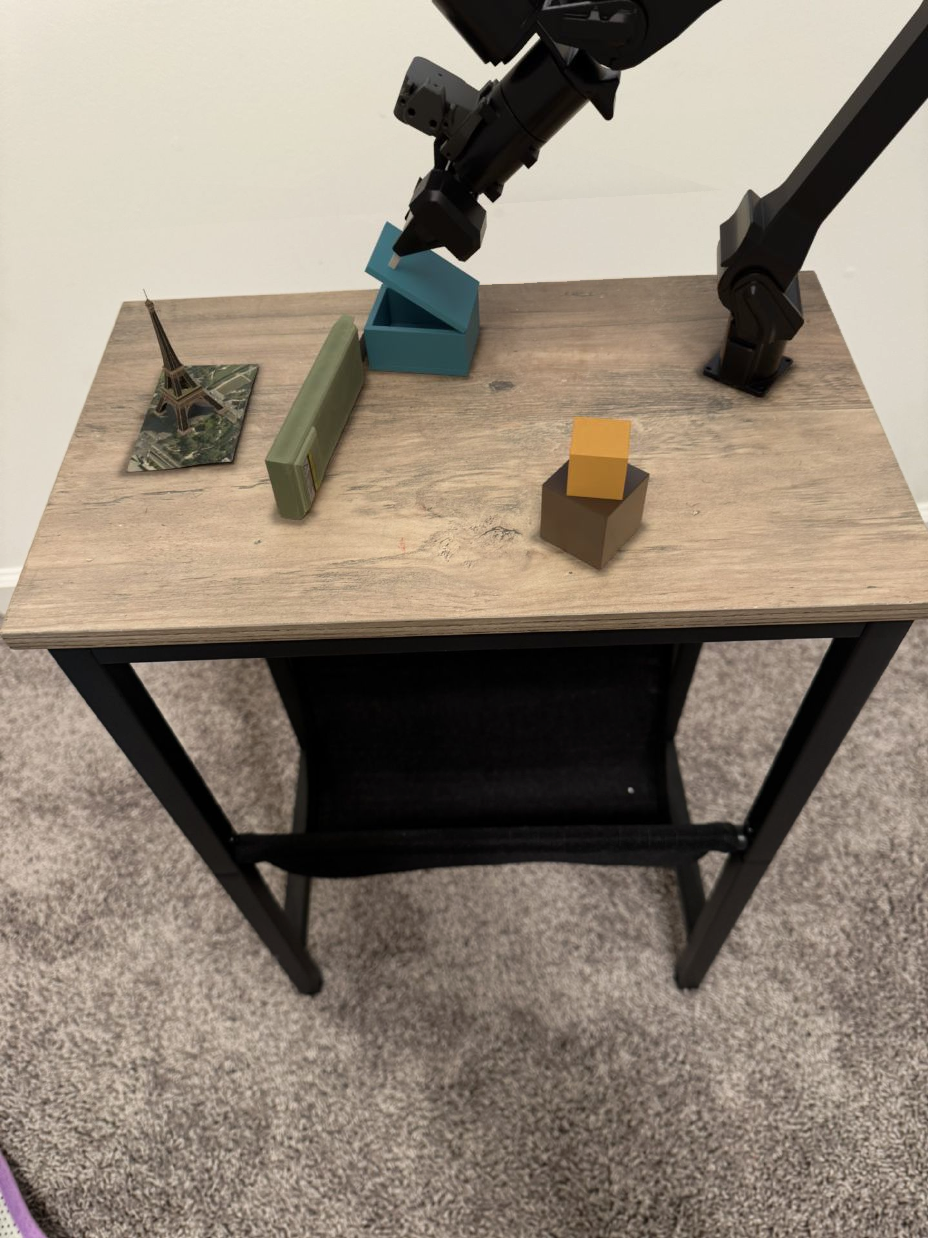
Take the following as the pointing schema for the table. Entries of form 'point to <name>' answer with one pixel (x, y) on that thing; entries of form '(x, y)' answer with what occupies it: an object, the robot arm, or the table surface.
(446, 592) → the table surface
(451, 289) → the teal lid with handle
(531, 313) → the table surface
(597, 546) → the stand
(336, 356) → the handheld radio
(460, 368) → the teal open box
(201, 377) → the eiffel tower figurine
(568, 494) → the block
